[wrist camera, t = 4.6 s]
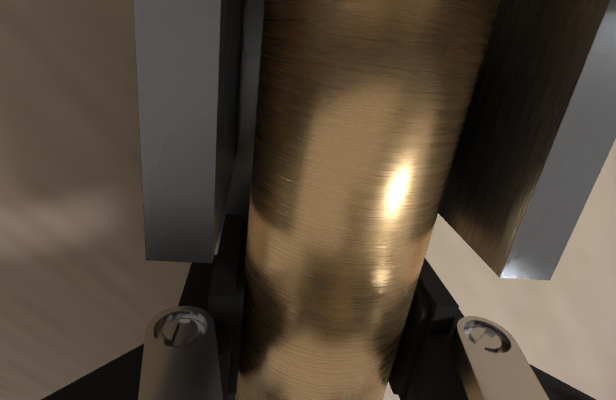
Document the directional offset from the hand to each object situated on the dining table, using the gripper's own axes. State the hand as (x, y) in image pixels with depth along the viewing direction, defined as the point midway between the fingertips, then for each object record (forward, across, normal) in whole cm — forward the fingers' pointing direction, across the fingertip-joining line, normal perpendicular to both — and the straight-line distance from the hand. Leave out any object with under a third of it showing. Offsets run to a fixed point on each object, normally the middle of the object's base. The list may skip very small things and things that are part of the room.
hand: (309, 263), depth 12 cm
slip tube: (-1, 0, -2) cm, 2 cm away
